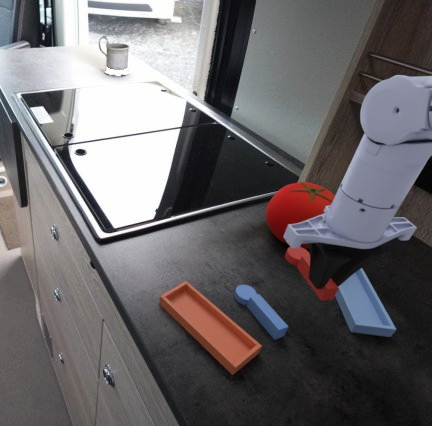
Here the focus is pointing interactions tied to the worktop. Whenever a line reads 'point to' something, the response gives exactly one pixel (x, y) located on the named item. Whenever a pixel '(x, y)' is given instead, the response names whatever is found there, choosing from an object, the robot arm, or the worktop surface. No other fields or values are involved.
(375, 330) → the blue rest
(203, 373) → the worktop surface
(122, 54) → the mug
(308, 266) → the red spoon
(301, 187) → the tomato
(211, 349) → the orange tray
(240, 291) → the blue spoon
